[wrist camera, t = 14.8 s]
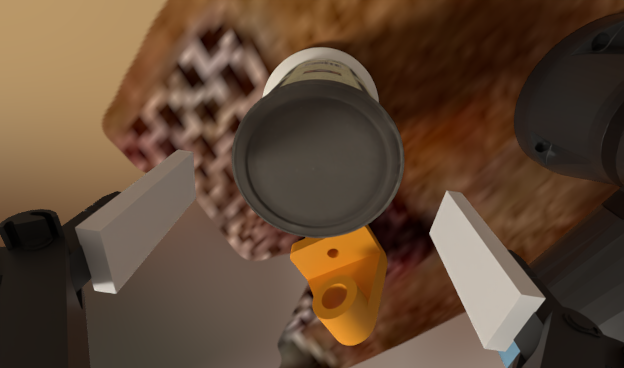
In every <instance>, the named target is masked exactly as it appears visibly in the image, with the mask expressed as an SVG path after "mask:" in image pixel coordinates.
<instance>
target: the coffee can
mask: <svg viewBox="0 0 624 368" xmlns="http://www.w3.org/2000/svg"><path fill="white" fill-rule="evenodd" d="M232 170H233V175H234V179H235V182H236V184H237V187H238V189H239V191H240V193H241V195H242V196H243V198H244V199H245V201H246V203H247V204H248V205H249V206H250V207H251V209H252V210H253V211H254V212H255V213H256V214H257V215H258V216H260V217H261V218H262V219H263V220H264V221H266V222H267V223H269V224H270V225H272V226H274V227H276V228H278V229H280V230H282V231H284V232H287V233H290V234H293V235H297V236H303V237H309V238H330V237H336V236H340V235H345V234H348V233H351V232H353V231H356V230H358V229H360V228H362V227H364V226H365V225H367V224H369V223H370V222H372V221H373V220H374V219H376V218H377V217H378V216H379V215H380V214H381V213H382V212H383V211H384V210H385V209H386V208H387V206H388V205H389V204H390V203H391V201H392V200H393V198H394V196H395V195H396V193H397V191H398V188H399V185H400V183H401V179H402V176H403V170H404V150H403V144H402V140H401V136H400V134H399V131H398V129H397V127H396V125H395V123H394V121H393V120H392V118H391V117H390V116H389V114H388V113H387V112H386V111H385V109H384V108H383V107H382V106H381V105H380V104H379V103H378V102H377V101H376V100H375V99H374V97H373V96H372V94H371V93H370V91H369V90H368V89H367V87H366V85H365V83H364V81H363V80H362V78H361V77H360V76H359V74H358V73H357V72H356V71H354V70H353V69H352V68H351V67H349V66H348V65H346V64H344V63H342V62H340V61H336V60H333V59H326V58H318V59H311V60H307V61H304V62H302V63H299V64H297V65H296V66H294V67H293V68H291V69H290V70H289V71H288V72H287V73H286V74H285V75H284V76H283V77H282V79H281V80H280V82H279V83H278V84H277V85H276V86H275V87H274V88H273V89H272V90H271V91H270V92H269V93H268V94H267V95H265V96H264V97H263V98H261V99H260V100H259V101H258V102H257V103H256V104H254V106H253V107H252V108H251V109H250V110H249V111H248V112H247V114H246V115H245V117H244V118H243V120H242V121H241V123H240V125H239V127H238V130H237V132H236V135H235V138H234V142H233V148H232Z"/></svg>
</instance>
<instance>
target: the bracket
mask: <svg viewBox="0 0 624 368" xmlns="http://www.w3.org/2000/svg"><path fill="white" fill-rule="evenodd" d="M290 259H291V261H292V262H293V263H294V264H295V266H296V267H297V268H298V269H299V271H300V272H301V273H302V274H303V275H304V277H305V278H306V279H307V280H308V283H309V286H310V288H311V291H312V293H313V296H314V299H313V311H314V313H315V314H316V315H317V317H318V318H319V319H320V320H321V321H322V323H323V324H324V325H325V326H326V327H327V328H328V330H329V331H330V332H331V333H332V334H333V336H334V337H335V338H336V339H337V340H338V341H339V342H340V343H342V344H344V345H356V344H359V343H361V342H362V341H364V340H365V339H366V338H367V337H368V336H369V335H370V334H371V332H372V331H373V329H374V327H375V323H376V319H377V314H378V309H379V304H380V299H381V294H382V289H383V285H384V280H385V275H386V270H387V265H388V261H387V258H386V254H385V252H384V250H383V248H382V247H381V245H380V243H379V242H378V240H377V239H376V237H375V235H374V234H373V232H372V230H371V229H370V227H369V225H368V224H367V225H365V226H364V227H362V228H360V229H358V230H356V231H353V232H351V233H348V234H345V235H340V236H336V237H330V238H309V237H305V239H303V240H300V241H298V242H296V243H294V244H293V245H292V249H291V255H290Z"/></svg>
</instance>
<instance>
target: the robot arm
mask: <svg viewBox="0 0 624 368" xmlns="http://www.w3.org/2000/svg"><path fill="white" fill-rule="evenodd" d="M514 128H515V134H516V138H517V141H518V143H519V145H520V147H521V148H522V150H523V151H524V152H525V153H526V154H527V155H528V156H529V157H530V158H531V159H533V160H534V161H536V162H537V163H539V164H540V165H542V166H544V167H545V168H547V169H549V170H551V171H553V172H556V173H558V174H561V175H565V176H570V177H576V178H581V179H587V180H592V181H597V182H603V183H608V184H614V185H618V186H620V187H621V188H620V189H619V190H618V191H616V192H615V193H614V194H613V195H612V196H611V197H609V198H608V199H607V200H606V201H605V202H604V203H602V204H601V205H599V206H598V207H597V208H596V209H595V210H593V211H592V212H591V213H590V214H589V215H587V216H586V217H585V218H584V219H583V220H582V221H580V222H579V223H578V224H577V225H576V226H574V227H573V228H572V229H571V230H570V231H568V232H567V233H566V234H565V235H564V236H562V237H561V238H560V239H559V240H558V241H556V242H555V243H554V244H553V245H552V246H551V247H549V248H548V249H547V250H546V251H545V252H543V253H542V254H541V255H540V256H539V257H537V258H536V259H535V260H534V261H533V262H531V263H530V264H529V265H527V264H526V262H525V261H524V260H523V259H522V258H521V257H519V256H518V255H517V254H515V253H514V252H513V251H512V250H507V249H506V248H505V247H504V245H503V244H502V243H501V242H500V240H499V239H498V238H497V237H496V235H495V234H494V233H493V232H492V230H491V229H490V228H489V227H488V225H487V224H486V223H485V222H484V220H483V219H482V218H481V217H480V215H479V214H478V213H477V212H476V210H475V209H474V208H473V207H472V205H471V204H470V203H469V202H468V200H467V199H466V198H465V197H464V195H463V194H462V193H459V192H453V191H446V193H445V196H444V198H443V201H442V203H441V206H440V208H439V210H438V213H437V215H436V218H435V220H434V223H433V225H432V227H431V230H430V232H429V234H430V236H431V238H432V240H433V242H434V244H435V247H436V249H437V251H438V253H439V255H440V257H441V259H442V261H443V263H444V265H445V267H446V270H447V272H448V274H449V276H450V278H451V280H452V282H453V284H454V286H455V288H456V290H457V293H458V295H459V297H460V299H461V301H462V303H463V305H464V307H465V309H466V311H467V313H468V315H469V318H470V320H471V322H472V324H473V326H474V328H475V330H476V332H477V334H478V336H479V339H480V341H481V343H482V345H483V347H484V349H490V350H497V351H498V352H499V355H500V357H501V359H502V361H503V363H504V365H505V367H506V368H624V13H619V14H614V15H611V16H607V17H604V18H601V19H599V20H596V21H594V22H592V23H589V24H587V25H585V26H583V27H582V28H580V29H578V30H576V31H575V32H573V33H572V34H570V35H569V36H567V37H566V38H565V39H563V40H562V41H561V42H559V43H558V44H557V45H556V46H555V47H554V48H552V49H551V50H550V51H549V52H548V53H547V54H546V55H545V56H544V58H543V59H542V60H541V61H540V62H539V63H538V65H537V66H536V67H535V68H534V70H533V71H532V73H531V74H530V76H529V77H528V79H527V81H526V82H525V84H524V86H523V88H522V90H521V93H520V95H519V98H518V101H517V104H516V109H515V115H514ZM195 198H196V191H195V175H194V160H193V152H190V151H183V150H177V151H176V152H174V153H173V154H172V155H170V156H169V157H168V158H167V159H165V160H164V161H163V162H161V163H160V164H159V165H157V166H156V167H155V168H153V169H152V170H151V171H149V172H148V173H147V174H145V175H144V176H143V177H142V178H140V179H139V180H137V181H136V182H135V183H134V184H132V185H131V186H129V187H128V188H127V189H125V190H124V191H123V192H118V191H117V192H114V193H111V194H109V195H106V196H104V197H102V198H101V199H99V200H98V201H97V202H95V203H94V204H93V206H92V205H91V206H89V207H88V208H87V209H85V211H84V212H83V211H82V212H81V213H80V214H78V215H77V216H76V217H74V218H73V219H71V220H70V221H69V222H67V223H66V224H64V225H63V226H61V224H60V221H59V218H58V215H57V213H56V212H54V211H51V210H44V209H40V210H30V211H26V212H22V213H18V214H16V215H14V216H11V217H9V218H7V219H6V220H4V221H3V222H1V223H0V235H1V237H2V239H3V241H4V243H5V246H6V247H0V368H90V355H89V343H88V331H87V319H86V308H85V296H84V291H83V288H82V287H83V286H84V285H85V284H86V283H87V282H88V281H89V280H90V279H91V281H92V284H93V287H94V290H95V291H101V292H108V293H115V294H116V293H117V292H118V291H119V289H121V287H122V286H123V285H124V284H125V283H126V281H127V280H128V279H129V278H130V277H131V275H132V274H133V273H134V272H135V271H136V269H137V268H138V267H139V266H140V265H141V263H142V262H143V261H144V260H145V259H146V257H147V256H148V255H149V254H150V253H151V251H152V250H153V249H154V248H155V247H156V245H157V244H158V243H159V242H160V241H161V239H162V238H163V237H164V236H165V234H166V233H167V232H168V231H169V230H170V229H171V227H172V226H173V225H174V223H176V221H177V220H178V219H179V218H180V217H181V215H182V214H183V213H184V212H185V210H186V209H187V208H188V207H189V206H190V204H191V203H192V202H193V201H194V200H195Z"/></svg>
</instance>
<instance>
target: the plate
mask: <svg viewBox="0 0 624 368" xmlns="http://www.w3.org/2000/svg"><path fill="white" fill-rule="evenodd" d="M318 58H326V59H333V60H336V61H340V62H342V63H344V64H346V65H348V66H349V67H351V68H352V69H353V70H354V71H356V72H357V73H358V74H359V76H360V77H361V78H362V80H363V81H364V83H365V85H366V87H367V89H368V90H369V91H370V93H371V94H372V96H373V97H374V99H375V100H376V101H377V102H378V103H379V99H378V93H377V89H376V87H375V84H374V82H373V80H372V78H371V76H370V74H369V73H368V72H367V70H366V69H365V68H364V67H363V66H362V65H361V64H360V63H359V62H358V61H357V60H356V59H355V58H353V57H352V56H350V55H349V54H347V53H345V52H343V51H340V50H337V49H333V48H327V47H314V48H309V49H305V50H302V51H299V52H297V53H295V54H293V55H291V56H290V57H288V58H287V59H286V60H284V61H283V62H282V63H281V64H280V65H279V66H278V67H277V68H276V69H275V70H274V72H273V73H272V74H271V76H270V78H269V80H268V82H267V84H266V87H265V89H264V93H263V97H264V96H265V95H267V94H268V93H269V92H270V91H271V90H272V89H273V88H274V87H275V86H276V85H277V84H278V83H279V82H280V80H281V79H282V77H283V76H284V75H285V74H286V73H287V72H288V71H289V70H290V69H291V68H293V67H294V66H296V65H297V64H299V63H302V62H304V61H307V60H311V59H318Z"/></svg>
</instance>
